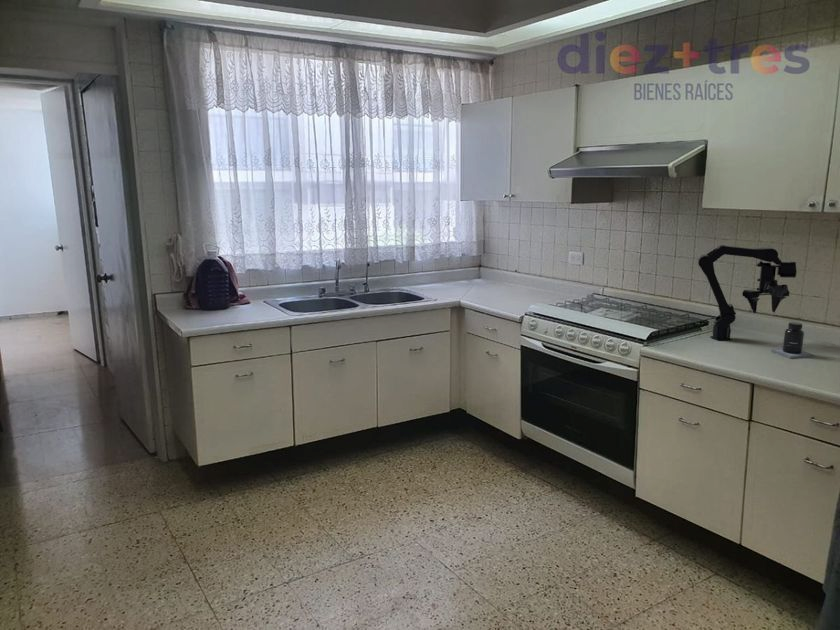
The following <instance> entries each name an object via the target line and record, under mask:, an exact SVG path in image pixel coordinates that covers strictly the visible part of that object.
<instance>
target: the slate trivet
mask: <svg viewBox="0 0 840 630" xmlns="http://www.w3.org/2000/svg"><path fill="white" fill-rule="evenodd" d="M770 352H772V353H773V352H774V353H773V354H776V353H777V355H779V356H782V357H784V356H785V358H788V359H790V360H791V359H803V358H805V359H806V358H815V357H816V355H815V354H812V353H810V352H808V351H804V350H802V352H801V353H800V354H791V353H786V352H784V351H783V348H775V349H770Z"/></svg>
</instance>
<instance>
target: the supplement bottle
mask: <svg viewBox="0 0 840 630" xmlns="http://www.w3.org/2000/svg"><path fill="white" fill-rule="evenodd" d="M787 327H788V328H786V329H785V330H784V333H783V334H784V335H783V344H782V349H783V351H784V352H786V353H791V354H800V353H801V352H802V351H803V345H804V340H805V339H804V338H805V331H804V330H803V323H802V322H796V321H795V322H793V321H791V322H790V321H789V322H788V326H787Z"/></svg>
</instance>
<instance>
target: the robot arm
mask: <svg viewBox="0 0 840 630" xmlns="http://www.w3.org/2000/svg"><path fill="white" fill-rule="evenodd" d="M725 255H727V256H735V257H736V256H738V257H746V258H754V259H757V260H760V261H758V262H757V263H756V264H755V266H756V267H759V268H760V273H759V278H757V282H759V283H758V287H756V290H754V289H752V288H751V289H744V290H743V291H742V294H741V295H742V296H741V297H744V299H746V300H747V302H748V303H749V305H750V308H751V310H752V313H753V314H756V313H757V309H758V308H757V307H758V302H759V300H760V298H759V297H760V296H771V297H770V298H771V311H772V312H773V313H776V310H777V309H778V307H779V305H780V303H781V301H783V300H784V299H786V298H787V297H790V293H791V292H790V290H789V288H788V287H789V285H787V284H778V279H776V275H777V276H779V278H783V279H784V278H785V279H787V278H791V279H792V278H793V279H795V278H797V277H796V276H797V262H796V261H782V260H781V259H780V258H779V252H778V250H777V249H775V248H773V247H770V246H769V247H758V248H757V247H755V248H753V247H752V248H751V247H743V246H734V245H733V246H732V245H725V244H719V245H718V246H717V247H715V249H712V250H711V251H709V252H708V253H706V254H701V255H699V256H698V259H697V265H698V267H700V269H701V271H702V272H703V274H704V275H705V276H706V278H707V281H708V284H709V286H710V288H711V290H712V293H713V295H714V298H715V300H716V304H717V308H718V313H719V315H717V316H716V317H714V319H713V320H714V323H715V324H713V325H712V326H713V327H712V335H710V338H711V339H713V340H717V341H732V338H731V331H732V329H731V324H732V323H734V322H735V321H736V315H737V313H736V311H735V309H734V305H733V303H728V301H727V300H726V297H725V295H724V292H723V291H722V287H721V285H720V283H719V280H718V278H717V275H716V273H715V272H716V271H715V267H714V266H715V265H714V263H715V262H717V261H718V260H719V259H720V258H722V256H725ZM764 261H765V262H764ZM771 263H774V264H771Z"/></svg>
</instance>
